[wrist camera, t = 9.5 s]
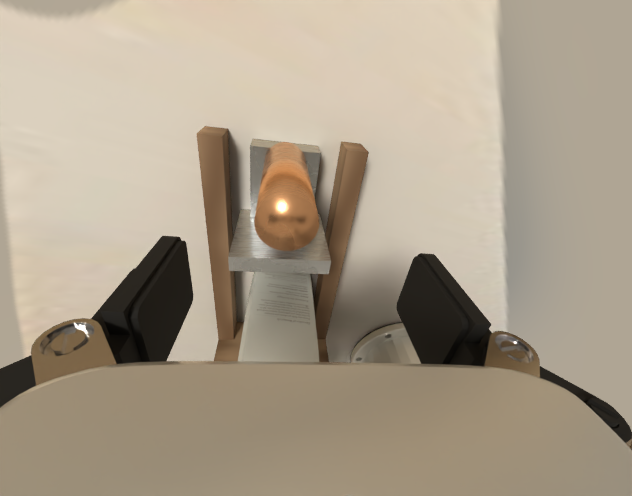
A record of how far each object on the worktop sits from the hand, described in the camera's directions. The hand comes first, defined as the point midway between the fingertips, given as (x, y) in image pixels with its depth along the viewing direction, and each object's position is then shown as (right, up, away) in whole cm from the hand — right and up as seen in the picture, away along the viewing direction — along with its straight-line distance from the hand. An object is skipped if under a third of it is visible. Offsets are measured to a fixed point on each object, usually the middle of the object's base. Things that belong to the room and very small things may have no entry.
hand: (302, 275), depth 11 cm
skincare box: (-4, -4, +19) cm, 20 cm away
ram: (-2, +6, +12) cm, 13 cm away
